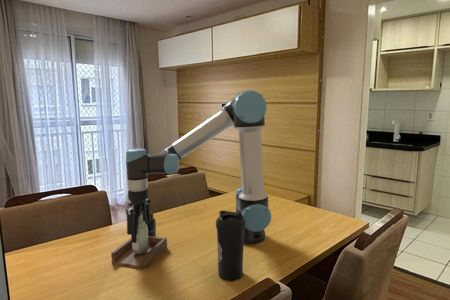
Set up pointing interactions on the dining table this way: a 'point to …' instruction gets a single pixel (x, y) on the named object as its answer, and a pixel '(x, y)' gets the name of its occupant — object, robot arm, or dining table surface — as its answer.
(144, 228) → the bottle
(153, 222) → the supplement bottle
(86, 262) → the dining table surface
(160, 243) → the u rest
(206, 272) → the dining table surface
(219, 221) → the water bottle
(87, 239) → the dining table surface
